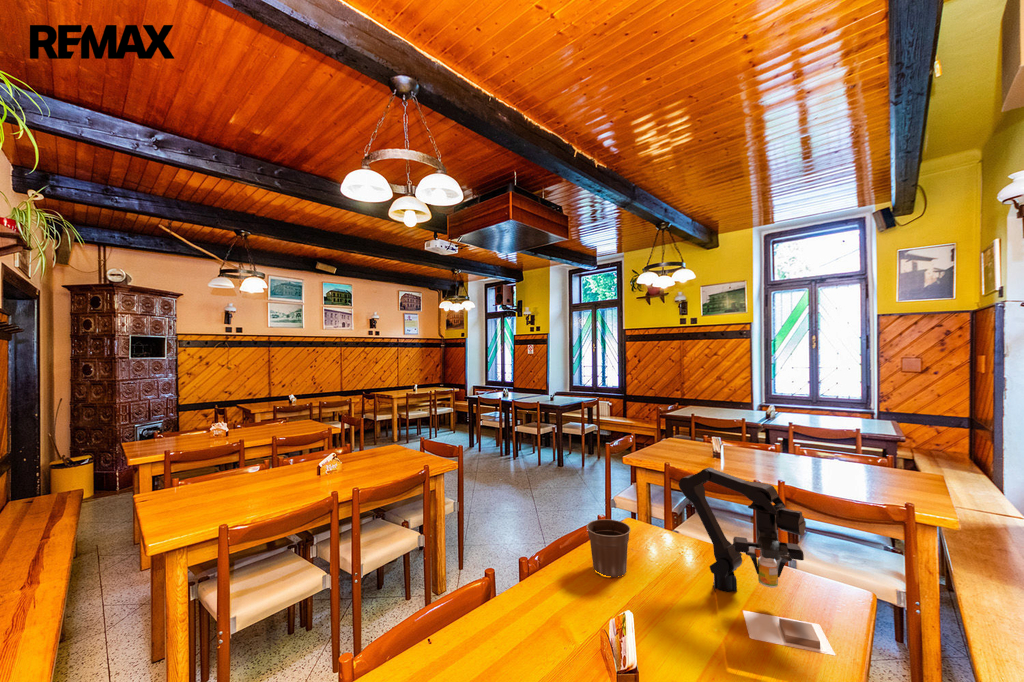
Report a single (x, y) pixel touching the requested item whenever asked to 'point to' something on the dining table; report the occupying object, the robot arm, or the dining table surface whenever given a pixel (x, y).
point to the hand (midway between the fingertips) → (767, 575)
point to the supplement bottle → (767, 572)
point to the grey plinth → (799, 633)
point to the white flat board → (771, 632)
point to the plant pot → (609, 546)
